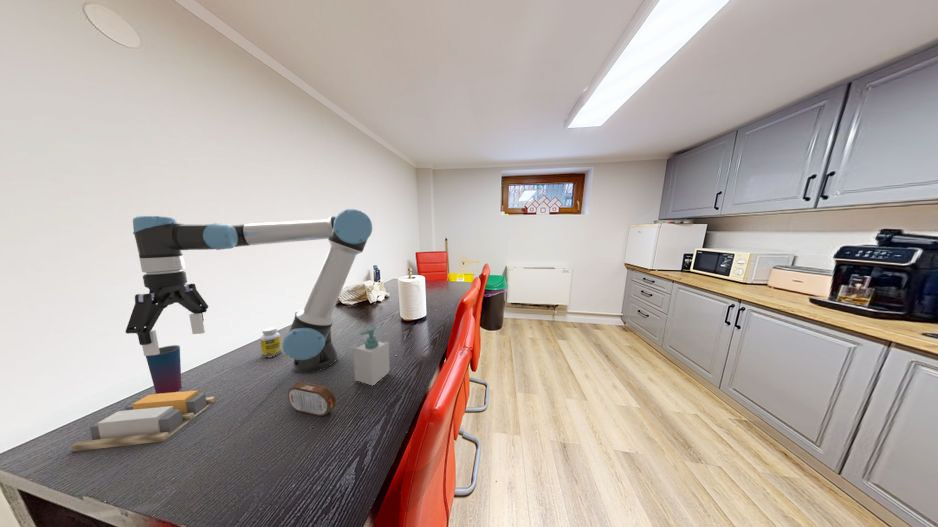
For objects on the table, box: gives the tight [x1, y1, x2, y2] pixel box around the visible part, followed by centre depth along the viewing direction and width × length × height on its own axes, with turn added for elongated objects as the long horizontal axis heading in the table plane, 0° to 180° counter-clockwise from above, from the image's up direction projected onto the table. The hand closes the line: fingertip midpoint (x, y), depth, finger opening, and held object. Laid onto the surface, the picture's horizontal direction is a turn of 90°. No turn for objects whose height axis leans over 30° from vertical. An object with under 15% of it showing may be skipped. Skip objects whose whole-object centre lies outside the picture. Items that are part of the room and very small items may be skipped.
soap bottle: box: [353, 326, 391, 387], centre depth 87 cm, size 9×9×19 cm
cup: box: [145, 344, 182, 394], centre depth 77 cm, size 7×7×15 cm
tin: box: [287, 381, 337, 417], centre depth 70 cm, size 15×3×8 cm, turn 77°
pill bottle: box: [260, 326, 282, 358], centre depth 103 cm, size 6×6×12 cm
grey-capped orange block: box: [125, 390, 207, 414], centre depth 68 cm, size 16×4×5 cm, turn 100°
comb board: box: [71, 396, 216, 452], centre depth 65 cm, size 18×15×2 cm
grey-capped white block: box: [89, 406, 183, 440], centre depth 62 cm, size 16×4×5 cm, turn 100°
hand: (177, 343), depth 70 cm, fingers open, 13 cm apart
